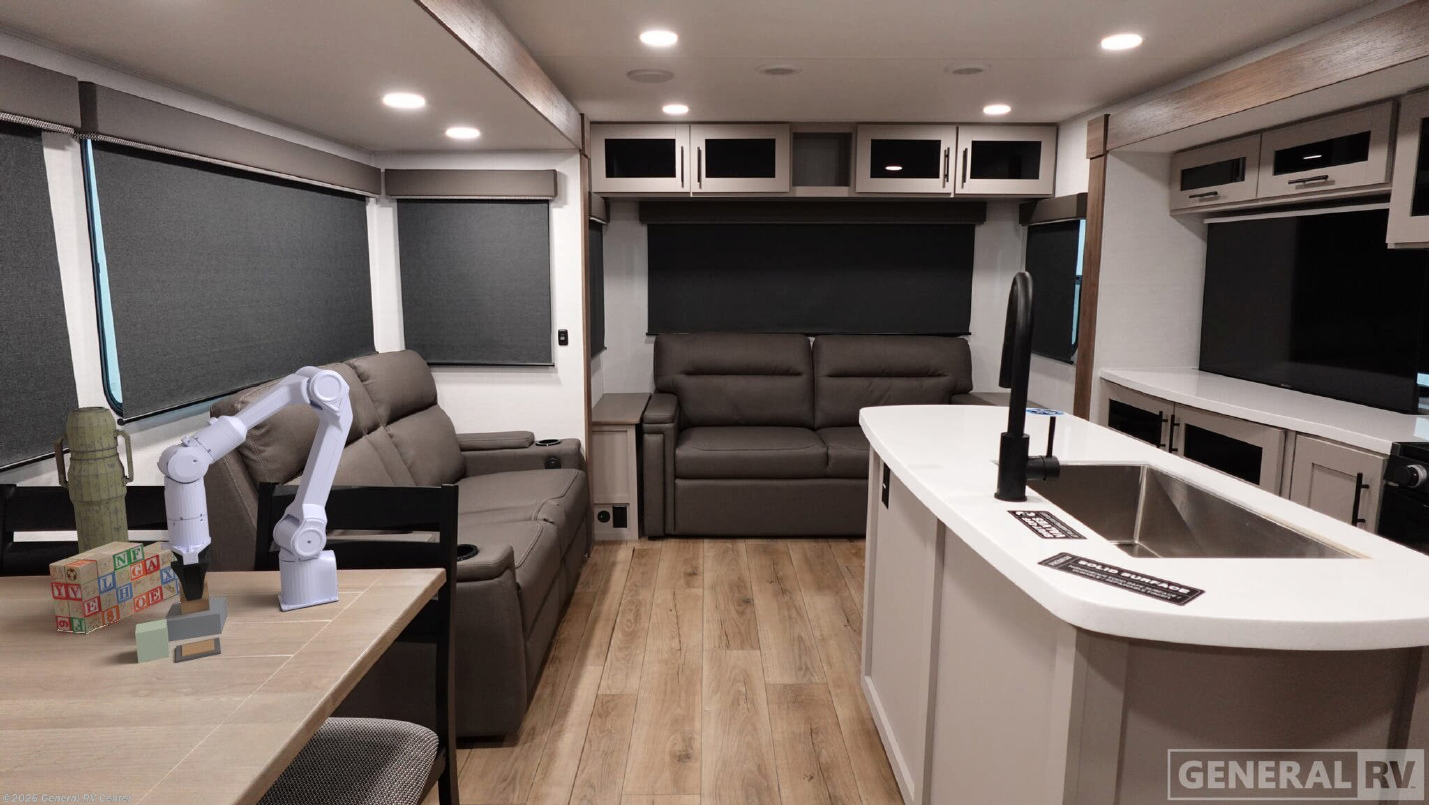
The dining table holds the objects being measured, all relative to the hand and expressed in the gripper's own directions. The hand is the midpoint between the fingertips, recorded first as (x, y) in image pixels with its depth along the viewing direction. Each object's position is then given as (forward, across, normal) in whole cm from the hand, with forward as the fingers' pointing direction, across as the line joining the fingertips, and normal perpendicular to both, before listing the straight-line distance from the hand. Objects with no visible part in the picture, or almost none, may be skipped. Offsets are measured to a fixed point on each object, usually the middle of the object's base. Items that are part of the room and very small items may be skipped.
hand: (194, 592), depth 137 cm
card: (+7, +10, 0) cm, 12 cm away
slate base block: (+7, 0, 0) cm, 7 cm away
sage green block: (+7, +8, -6) cm, 12 cm away
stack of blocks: (+7, -17, -10) cm, 21 cm away
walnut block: (+3, 0, 0) cm, 3 cm away
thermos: (+7, -34, -14) cm, 38 cm away
